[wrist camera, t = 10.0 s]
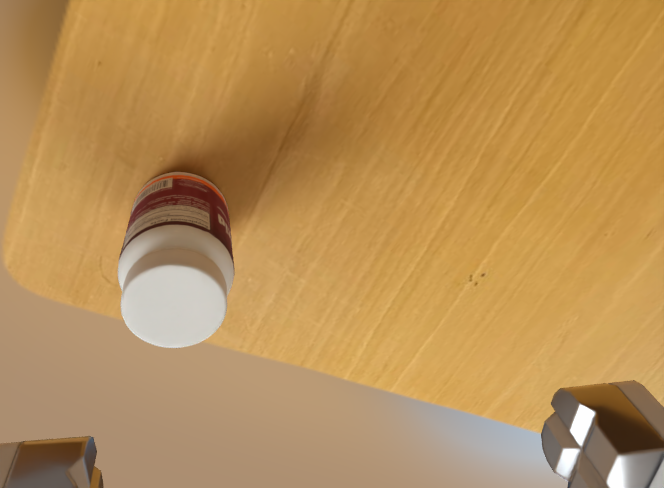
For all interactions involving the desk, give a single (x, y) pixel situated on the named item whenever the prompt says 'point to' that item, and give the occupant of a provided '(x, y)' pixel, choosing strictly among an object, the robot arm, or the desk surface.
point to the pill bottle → (176, 261)
